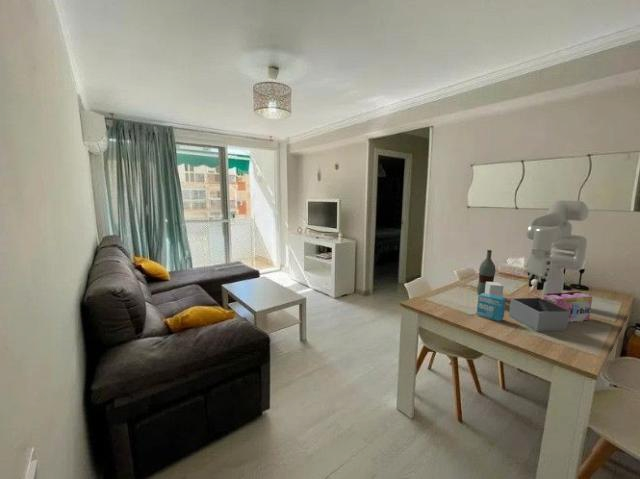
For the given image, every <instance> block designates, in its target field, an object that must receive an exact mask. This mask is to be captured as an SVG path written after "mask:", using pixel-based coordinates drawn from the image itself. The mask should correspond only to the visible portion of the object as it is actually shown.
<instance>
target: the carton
mask: <svg viewBox="0 0 640 479" xmlns="http://www.w3.org/2000/svg"><path fill="white" fill-rule="evenodd" d="M569 312H570V311H568V310H565V309H563V308H561V307H559V306H556V305H554V304H552V303H549V302H547V301H545V300H542V299H540V298H538V297H513V298H512V297H511V298H510V303H509V311H508V316H509V317H510V318H512V319H514V320H516V321H517V322H519V323H520V324H522V325H524V326H526V327H527V328H528V329H531V330H533V331H534V332H541V333H542V332H559V331H560V332H562V331H561V330H565V331H567V329H568V328H567V327H568V325H569V324H568V323H569V322H568V318H569Z"/></svg>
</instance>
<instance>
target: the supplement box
mask: <svg viewBox="0 0 640 479" xmlns="http://www.w3.org/2000/svg"><path fill="white" fill-rule="evenodd" d="M485 294H489V295H494V296H498V297H503V294H504V285H502V284H501V283H500V282H498V281H496V282H495V281H493V282H486V285H485Z"/></svg>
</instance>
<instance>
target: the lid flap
mask: <svg viewBox="0 0 640 479" xmlns="http://www.w3.org/2000/svg"><path fill="white" fill-rule="evenodd" d="M537 282H539V278H538V279H537V278H535V279H533V280H532V281H531V284H532V287H530V289H529V291H528V290H525V289H523V288H522V287H518V286H516V285H514V288H517V289H518V290H521V291H523V292H525V293H527V294H530V295H532V296H534V297H535V298H541V299H543V300H545V301H547V302H550V303H552V304H554V305H557V306H559V307H561V308H564V309H566V310H568V311H571V310H569V309H567V308H565V307H562V306H560V305H558V304H556V303H554V302H551V301H549V300H547V299H545V298H542V297H540V296H541V295H537V294H535V293H534V291H535V290H536V288H537Z"/></svg>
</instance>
